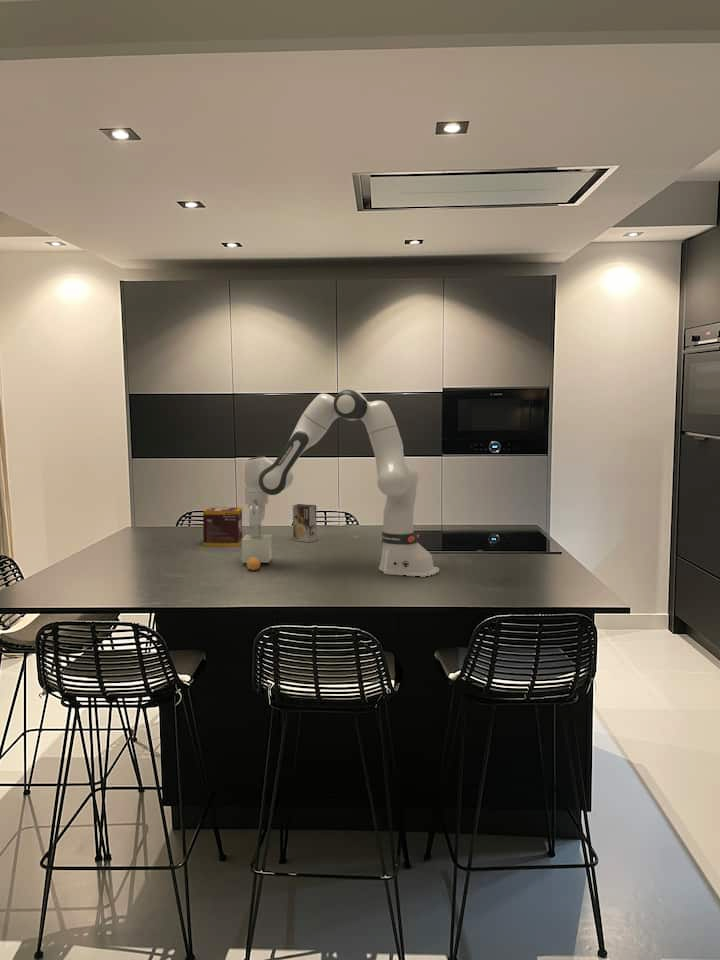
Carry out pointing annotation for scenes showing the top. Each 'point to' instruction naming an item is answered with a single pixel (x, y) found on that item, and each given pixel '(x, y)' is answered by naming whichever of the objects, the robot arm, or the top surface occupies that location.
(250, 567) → the ball
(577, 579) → the top surface
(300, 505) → the coffee box
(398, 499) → the robot arm
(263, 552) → the pale sage box
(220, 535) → the supplement box
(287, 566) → the top surface
